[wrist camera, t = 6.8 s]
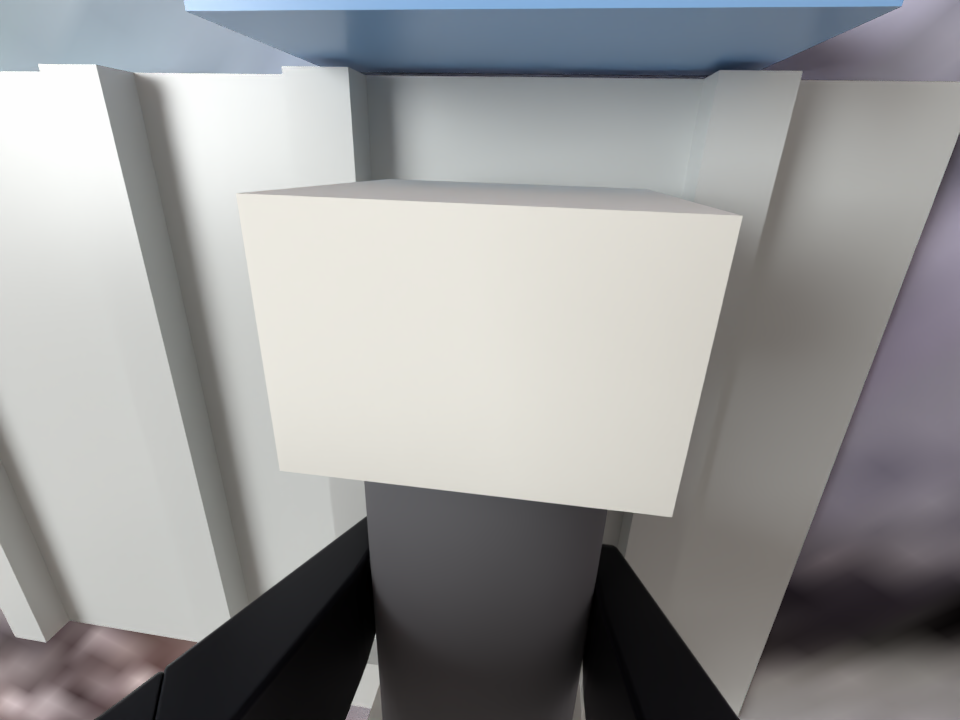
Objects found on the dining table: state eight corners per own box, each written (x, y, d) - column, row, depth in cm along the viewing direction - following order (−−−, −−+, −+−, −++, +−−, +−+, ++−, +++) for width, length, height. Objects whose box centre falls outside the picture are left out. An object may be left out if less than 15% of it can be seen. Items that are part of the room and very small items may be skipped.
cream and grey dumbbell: (564, 708, 11) (569, 951, 7) (409, 682, 11) (348, 900, 8) (646, 189, 6) (742, 215, 3) (389, 179, 7) (235, 193, 4)
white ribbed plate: (726, 714, 12) (785, 906, 9) (-18, 592, 15) (-171, 706, 12) (983, 9, 6) (1396, -140, 3) (-313, 16, 9) (-771, -61, 6)
